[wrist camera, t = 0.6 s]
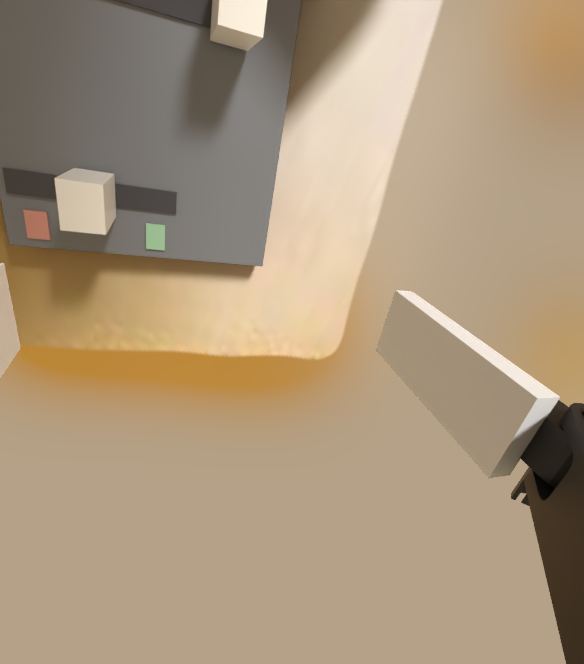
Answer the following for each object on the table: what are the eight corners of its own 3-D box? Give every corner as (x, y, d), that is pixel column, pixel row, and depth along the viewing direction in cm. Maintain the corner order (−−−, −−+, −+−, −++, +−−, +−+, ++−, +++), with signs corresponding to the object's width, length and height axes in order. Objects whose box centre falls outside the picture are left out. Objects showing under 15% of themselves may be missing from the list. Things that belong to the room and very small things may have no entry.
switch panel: (-53, -174, 18) (-78, -206, 16) (300, -40, 24) (310, -53, 23) (18, 237, 28) (7, 245, 26) (257, 258, 34) (262, 267, 32)
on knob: (213, -21, 22) (222, -52, 18) (253, -8, 23) (271, -34, 19) (209, 40, 23) (217, 24, 19) (247, 51, 24) (263, 38, 20)
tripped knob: (74, 167, 25) (54, 178, 21) (114, 173, 26) (102, 184, 21) (78, 212, 26) (60, 230, 22) (116, 216, 27) (105, 234, 23)
